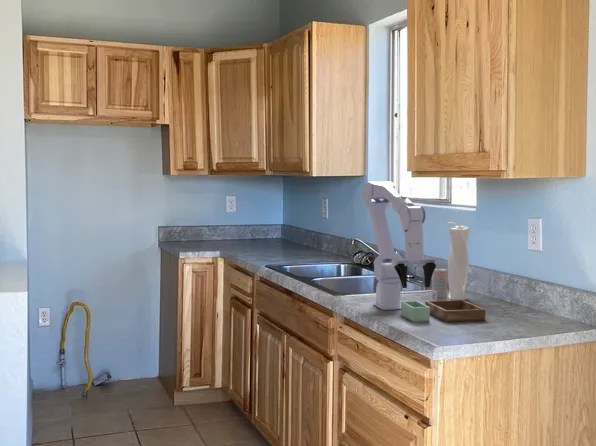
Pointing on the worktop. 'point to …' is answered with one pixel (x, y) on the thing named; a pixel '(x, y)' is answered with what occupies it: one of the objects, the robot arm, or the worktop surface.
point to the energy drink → (439, 284)
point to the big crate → (455, 311)
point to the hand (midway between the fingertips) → (416, 287)
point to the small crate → (415, 311)
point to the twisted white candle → (458, 262)
